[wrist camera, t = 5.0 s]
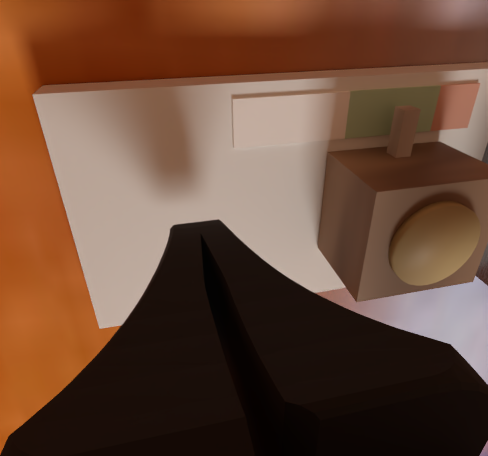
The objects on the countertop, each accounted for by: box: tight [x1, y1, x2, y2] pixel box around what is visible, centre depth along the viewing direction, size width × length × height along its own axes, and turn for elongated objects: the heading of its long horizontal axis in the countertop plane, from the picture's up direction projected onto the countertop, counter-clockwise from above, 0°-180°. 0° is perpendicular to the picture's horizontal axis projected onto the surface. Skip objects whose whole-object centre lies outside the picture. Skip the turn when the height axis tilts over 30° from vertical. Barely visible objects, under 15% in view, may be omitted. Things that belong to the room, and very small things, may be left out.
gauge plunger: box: [318, 105, 488, 302], centre depth 12 cm, size 4×5×3 cm
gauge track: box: [32, 62, 488, 329], centre depth 13 cm, size 16×8×1 cm, turn 91°
